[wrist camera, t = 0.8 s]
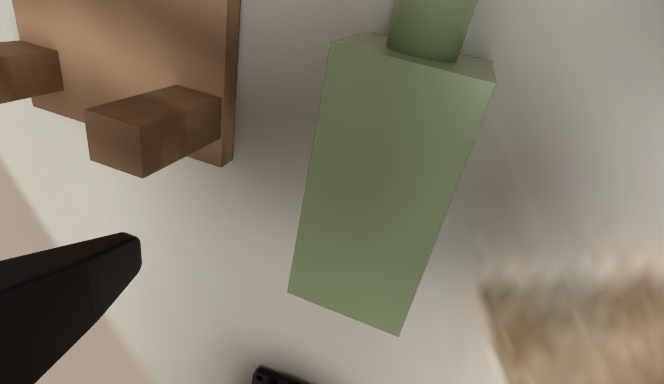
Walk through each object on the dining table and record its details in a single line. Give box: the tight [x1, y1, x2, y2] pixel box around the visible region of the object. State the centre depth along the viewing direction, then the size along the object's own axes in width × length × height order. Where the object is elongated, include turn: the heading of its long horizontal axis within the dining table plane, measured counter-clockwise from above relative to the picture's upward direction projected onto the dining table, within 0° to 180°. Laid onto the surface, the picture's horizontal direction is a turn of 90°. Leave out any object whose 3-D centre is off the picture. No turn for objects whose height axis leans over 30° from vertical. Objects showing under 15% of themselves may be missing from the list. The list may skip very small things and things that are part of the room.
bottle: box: [287, 0, 496, 337], centre depth 14 cm, size 15×5×5 cm, turn 169°
